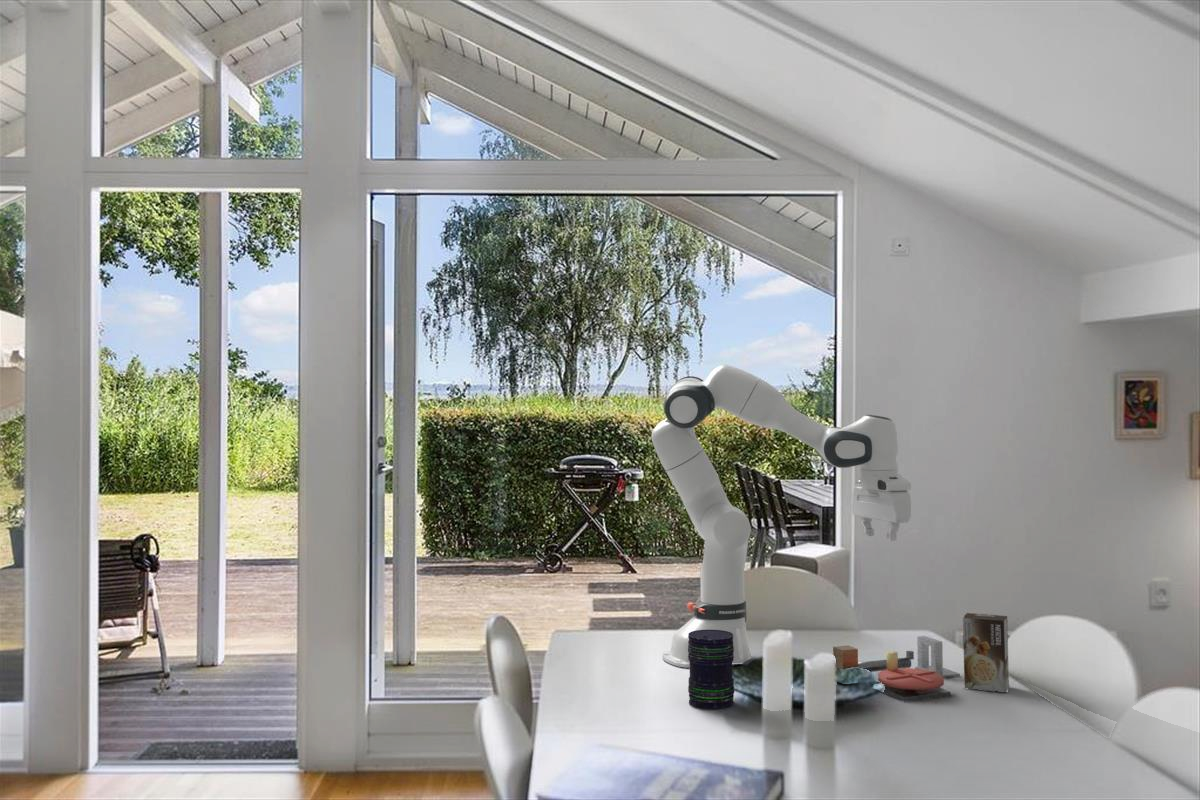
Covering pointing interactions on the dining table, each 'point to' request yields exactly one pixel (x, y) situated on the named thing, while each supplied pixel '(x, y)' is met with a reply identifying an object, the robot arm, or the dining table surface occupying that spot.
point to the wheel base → (915, 693)
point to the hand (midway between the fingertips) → (880, 538)
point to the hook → (849, 658)
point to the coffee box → (985, 652)
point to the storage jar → (711, 669)
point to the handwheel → (908, 676)
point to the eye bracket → (932, 657)
